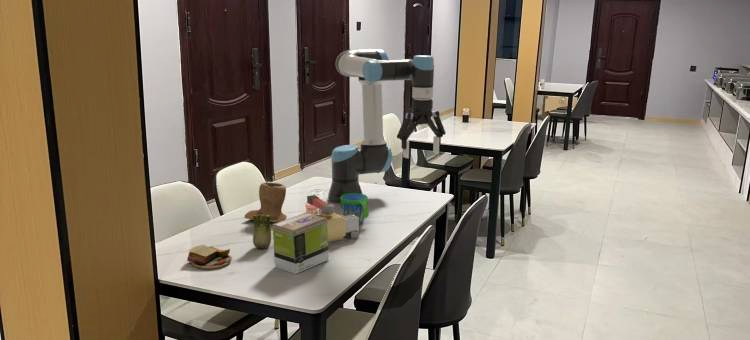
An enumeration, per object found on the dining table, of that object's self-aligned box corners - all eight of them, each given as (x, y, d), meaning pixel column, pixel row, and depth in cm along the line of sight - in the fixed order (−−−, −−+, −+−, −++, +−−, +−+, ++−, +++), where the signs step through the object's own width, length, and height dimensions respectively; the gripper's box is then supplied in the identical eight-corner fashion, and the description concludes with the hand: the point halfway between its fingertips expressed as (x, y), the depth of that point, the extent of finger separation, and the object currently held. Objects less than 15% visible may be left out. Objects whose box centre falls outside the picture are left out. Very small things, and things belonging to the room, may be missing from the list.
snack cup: (376, 225, 230) (376, 199, 228) (352, 229, 225) (352, 203, 223) (356, 214, 243) (356, 190, 241) (333, 218, 238) (332, 193, 236)
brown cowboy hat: (292, 217, 239) (291, 181, 235) (278, 226, 228) (276, 188, 225) (259, 213, 244) (258, 177, 241) (243, 222, 233) (241, 184, 230)
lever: (336, 213, 210) (336, 206, 210) (325, 215, 208) (325, 207, 207) (316, 201, 224) (316, 194, 224) (305, 203, 222) (305, 196, 221)
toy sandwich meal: (213, 273, 185) (212, 259, 184) (181, 265, 191) (180, 251, 190) (240, 260, 196) (239, 246, 195) (208, 253, 202) (208, 239, 201)
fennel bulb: (273, 247, 207) (272, 214, 204) (263, 251, 203) (262, 217, 200) (260, 244, 210) (258, 211, 207) (250, 248, 206) (249, 215, 203)
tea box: (307, 253, 201) (306, 211, 198) (329, 260, 195) (328, 217, 192) (273, 267, 190) (271, 222, 186) (295, 275, 184) (294, 229, 180)
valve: (296, 242, 211) (295, 215, 209) (351, 232, 222) (351, 206, 219) (304, 249, 205) (303, 220, 203) (360, 238, 216) (360, 210, 214)
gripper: (399, 102, 209) (398, 161, 214) (456, 97, 221) (454, 154, 226) (387, 99, 215) (387, 157, 220) (443, 95, 227) (442, 150, 232)
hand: (421, 155), depth 223 cm, fingers open, 13 cm apart
